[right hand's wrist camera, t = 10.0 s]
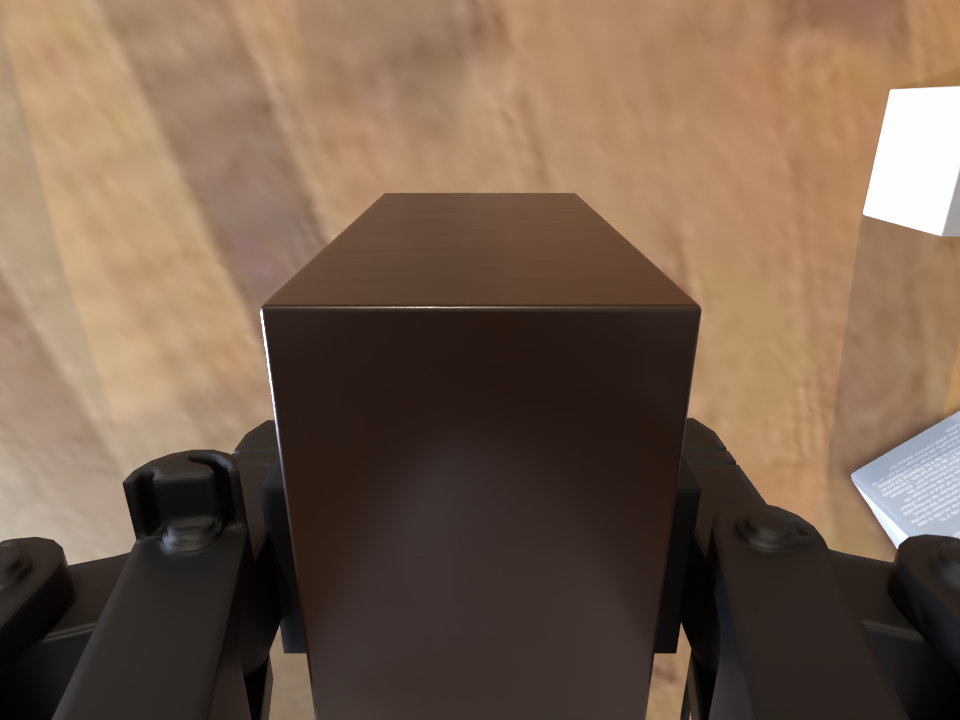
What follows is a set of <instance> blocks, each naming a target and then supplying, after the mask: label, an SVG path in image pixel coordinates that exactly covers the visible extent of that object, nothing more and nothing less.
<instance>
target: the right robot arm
mask: <svg viewBox="0 0 960 720" xmlns="http://www.w3.org/2000/svg"><path fill="white" fill-rule="evenodd" d="M123 487H124V491H125V495H126V499H127V503H128V507H129V511H130V516H131V520H132V524H133V528H134V532H135V536H136V542H135V544H134V546H133V548H132V550H131V552H130V553H126V554H122V555H118V556H114V557H109V558H104V559H99V560H94V561H89V562H84V563H79V564H74V565H69V566H68V564H67V561H66V558H65V554H64V551H63V548H62V547H61V546H60V545H59V544H57V543H56V542H55V541H54V540H51V539H45V538H39V537H30V538H19V539H11V540H6V541H2V542H1V543H0V720H268V719H269V710H270V702H271V693H272V685H273V674H272V667H271V661H270V655H269V651H270V648H271V646H272V643H273V641H274V638H275V635H276V633H277V630H278V628H279V625H280V629H281V635H282V642H283V648H284V653H306V646H305V638H304V631H303V624H302V616H301V609H300V602H299V594H298V587H297V579H296V572H295V565H294V557H293V550H292V543H291V535H290V528H289V521H288V513H287V506H286V499H285V491H284V484H283V476H282V469H281V462H280V454H279V447H278V440H277V432H276V425H275V420H267V421H266V422H264V423H263V424H261V425H259V426H258V427H256V428H255V429H253V430H252V431H250V432H249V433H247V434H246V435H245V436H244V438H243V439H242V441H241V442H240V443H239V445H238V446H237V448H236V449H235V452H234V454H232V455H230V454H228V453H224V452H220V451H216V450H189V451H184V452H178V453H173V454H169V455H166V456H164V457H161V458H158V459H155V460H152V461H150V462H148V463H147V464H145V465H143V466H141V467H140V468H138V469H136V470H135V471H133V472H132V473H131V474H130V475H129V476H128V477H127V478H126V480H125V481H124V482H123ZM681 623H682V626H683V628H684V631H685V634H686V636H687V639H688V641H689V644H690V646H691V655H690V661H689V667H688V673H687V679H686V685H685V691H684V697H683V703H682V710H681V717H680V720H689V716H690V711H691V717H692V720H960V538H955V537H950V536H941V535H930V534H923V535H917V536H912V537H908V538H907V539H905V540H904V541H903V542H902V543H901V544H899V546H898V550H897V553H896V556H895V560H894V563H890V562H885V561H880V560H875V559H870V558H865V557H860V556H855V555H850V554H845V553H842V552H838V551H834V550H830V549H828V547H827V545H826V543H825V541H824V539H823V537H822V536H821V535H820V534H819V532H818V531H817V530H816V529H815V527H814V526H813V525H811V524H810V523H808V522H807V521H805V520H804V519H802V518H801V517H800V516H798V515H796V514H794V513H791V512H789V511H787V510H784V509H782V508H779V507H776V506H771V505H767V504H766V502H765V501H764V500H763V498H762V497H761V496H760V494H759V493H758V491H757V490H756V489H755V487H754V486H753V484H752V483H751V482H750V480H749V479H748V477H747V476H746V475H745V473H744V472H743V471H742V469H741V468H740V466H739V465H736V461H735V459H734V458H733V457H732V455H731V454H730V453H729V451H726V447H725V446H724V444H723V443H722V441H721V440H720V439H719V437H718V436H717V435H716V433H715V432H714V431H712V430H711V429H709V428H708V427H706V426H704V425H703V424H701V423H700V422H698V421H697V420H695V419H694V418H687V420H686V427H685V434H684V441H683V449H682V456H681V463H680V471H679V478H678V485H677V493H676V500H675V507H674V515H673V522H672V529H671V536H670V544H669V551H668V558H667V566H666V573H665V580H664V588H663V595H662V602H661V610H660V617H659V624H658V631H657V639H656V646H655V653H676V651H677V645H678V638H679V631H680V625H681Z"/></svg>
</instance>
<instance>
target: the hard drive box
mask: <svg viewBox="0 0 960 720" xmlns="http://www.w3.org/2000/svg"><path fill="white" fill-rule="evenodd" d="M851 478H852V480H853V482H854V484H855V485H856V487H857V488H858V490H859V491H860V493H861V494H862V496H863V497H864V499H865V500H866V502H867V503H868V505H869V506H870V507H871V509H872V511H873V513H874V514H875V516H876V518H877V519H878V521H879V522H880V524H881V525H882V527H883V528H884V530H885V531H886V533H887V534H888V536H889V537H890V539H891V540H892V541H893V543H894V545H895V546H896V548H897V549H898V546H899V544H901V543H902V542H903V541H904V540H905V539H907V538H908V537H912V536H917V535H923V534H930V535H941V536H950V537H955V538H960V411H958V412H957V413H955V414H953V415H952V416H950V417H948V418H946V419H945V420H943V421H941V422H939V423H937V424H936V425H934V426H932V427H930V428H929V429H927V430H925V431H924V432H922V433H920V434H918V435H917V436H915V437H913V438H911V439H910V440H908V441H906V442H904V443H903V444H901V445H899V446H898V447H896V448H894V449H892V450H891V451H889V452H887V453H886V454H884V455H883V456H881V457H879V458H877V459H876V460H874V461H872V462H870V463H869V464H867V465H865V466H863V467H862V468H860V469H858V470H857V471H855V472H854V473H853V474H852V475H851Z"/></svg>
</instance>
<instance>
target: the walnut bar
mask: <svg viewBox="0 0 960 720" xmlns="http://www.w3.org/2000/svg"><path fill="white" fill-rule="evenodd" d="M260 315H261V322H262V329H263V337H264V344H265V351H266V359H267V366H268V374H269V381H270V388H271V396H272V403H273V410H274V418H275V425H276V432H277V440H278V447H279V454H280V462H281V469H282V476H283V484H284V491H285V499H286V506H287V513H288V521H289V528H290V535H291V543H292V550H293V557H294V565H295V572H296V579H297V587H298V594H299V602H300V609H301V616H302V624H303V631H304V638H305V646H306V653H307V660H308V668H309V675H310V682H311V690H312V697H313V704H314V712H315V719H316V720H645V719H646V712H647V705H648V697H649V690H650V683H651V675H652V668H653V661H654V653H655V646H656V639H657V631H658V624H659V617H660V610H661V602H662V595H663V588H664V580H665V573H666V566H667V558H668V551H669V544H670V536H671V529H672V522H673V515H674V507H675V500H676V493H677V485H678V478H679V471H680V463H681V456H682V449H683V441H684V434H685V427H686V420H687V412H688V405H689V398H690V390H691V383H692V376H693V368H694V361H695V354H696V347H697V339H698V332H699V325H700V317H701V308H700V306H699V305H698V304H697V303H696V302H695V301H694V300H693V299H692V298H691V297H690V296H688V295H687V294H686V293H685V292H684V291H683V290H682V289H681V288H680V287H678V286H677V285H676V284H675V283H674V282H673V281H672V280H671V279H670V278H668V277H667V276H666V275H665V274H664V273H663V272H662V271H661V270H660V269H659V268H657V267H656V266H655V265H654V264H653V263H652V262H651V261H650V260H649V259H647V258H646V257H645V256H644V255H643V254H642V253H641V252H640V251H639V250H637V249H636V248H635V247H634V246H633V245H632V244H631V243H630V242H629V241H628V240H626V239H625V238H624V237H623V236H622V235H621V234H620V233H619V232H618V231H616V230H615V229H614V228H613V227H612V226H611V225H610V224H609V223H608V222H606V221H605V220H604V219H603V218H602V217H601V216H600V215H599V214H598V213H597V212H595V211H594V210H593V209H592V208H591V207H590V206H589V205H588V204H587V203H585V202H584V201H583V200H582V199H581V198H580V197H579V196H578V195H577V194H575V193H385V194H384V195H382V196H381V197H380V198H379V199H378V200H377V201H376V202H375V203H374V204H373V205H371V206H370V207H369V208H368V209H367V210H366V211H365V212H364V213H363V214H362V215H361V216H359V217H358V218H357V219H356V220H355V221H354V222H353V223H352V224H351V225H350V226H348V227H347V228H346V229H345V230H344V231H343V232H342V233H341V234H340V235H339V236H338V237H336V238H335V239H334V240H333V241H332V242H331V243H330V244H329V245H328V246H327V247H325V248H324V249H323V250H322V251H321V252H320V253H319V254H318V255H317V256H316V257H315V258H313V259H312V260H311V261H310V262H309V263H308V264H307V265H306V266H305V267H304V268H302V269H301V270H300V271H299V272H298V273H297V274H296V275H295V276H294V277H293V278H292V279H290V280H289V281H288V282H287V283H286V284H285V285H284V286H283V287H282V288H281V289H279V290H278V291H277V292H276V293H275V294H274V295H273V296H272V297H271V298H270V299H269V300H267V301H266V302H265V303H264V304H263V305H262V306H261V309H260Z"/></svg>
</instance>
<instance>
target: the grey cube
mask: <svg viewBox="0 0 960 720" xmlns="http://www.w3.org/2000/svg"><path fill="white" fill-rule="evenodd" d="M863 215H866V216H869V217H873V218H877V219H880V220H884V221H887V222H891V223H895V224H898V225H902V226H906V227H909V228H913V229H916V230H920V231H924V232H927V233H931V234H935V235H938V236H960V86H949V87H928V88H908V89H892V90H891V91H890V94H889V99H888V103H887V108H886V112H885V117H884V121H883V126H882V130H881V135H880V139H879V144H878V148H877V153H876V157H875V162H874V166H873V171H872V175H871V180H870V184H869V189H868V193H867V198H866V202H865V207H864V211H863Z"/></svg>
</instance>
